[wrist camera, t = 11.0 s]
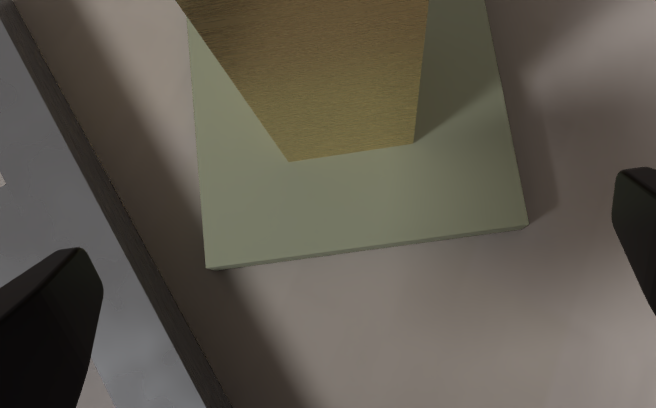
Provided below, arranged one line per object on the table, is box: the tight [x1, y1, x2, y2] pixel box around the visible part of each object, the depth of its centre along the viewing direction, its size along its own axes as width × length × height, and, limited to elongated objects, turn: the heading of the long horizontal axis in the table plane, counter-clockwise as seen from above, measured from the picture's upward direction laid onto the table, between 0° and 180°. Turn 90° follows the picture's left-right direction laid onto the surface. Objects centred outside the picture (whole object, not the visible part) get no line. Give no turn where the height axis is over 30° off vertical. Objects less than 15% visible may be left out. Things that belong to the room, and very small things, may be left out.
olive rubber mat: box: [187, 0, 529, 271], centre depth 19 cm, size 10×10×1 cm
